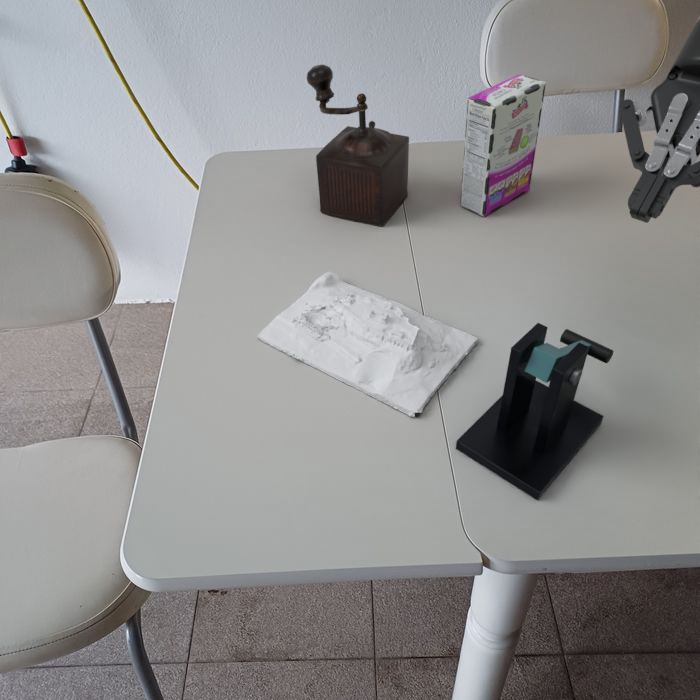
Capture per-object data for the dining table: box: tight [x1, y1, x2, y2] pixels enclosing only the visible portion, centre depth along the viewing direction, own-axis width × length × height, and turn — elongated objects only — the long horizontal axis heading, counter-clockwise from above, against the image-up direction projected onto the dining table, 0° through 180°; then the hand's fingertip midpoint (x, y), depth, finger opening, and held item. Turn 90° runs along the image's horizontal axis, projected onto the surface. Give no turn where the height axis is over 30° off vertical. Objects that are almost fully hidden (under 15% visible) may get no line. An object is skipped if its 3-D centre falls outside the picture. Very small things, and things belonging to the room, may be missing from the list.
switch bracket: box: [455, 322, 604, 501], centre depth 59 cm, size 12×9×12 cm
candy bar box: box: [459, 74, 547, 218], centre depth 91 cm, size 11×5×16 cm, turn 132°
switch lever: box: [525, 328, 614, 383], centre depth 60 cm, size 12×5×2 cm, turn 137°
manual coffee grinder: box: [306, 64, 410, 227], centre depth 92 cm, size 16×11×18 cm
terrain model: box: [257, 271, 479, 418], centre depth 73 cm, size 17×23×5 cm
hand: (638, 217), depth 58 cm, fingers closed
